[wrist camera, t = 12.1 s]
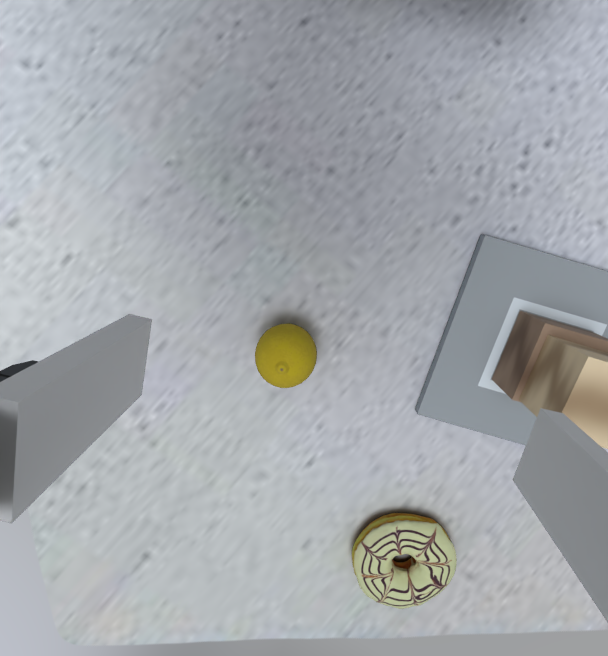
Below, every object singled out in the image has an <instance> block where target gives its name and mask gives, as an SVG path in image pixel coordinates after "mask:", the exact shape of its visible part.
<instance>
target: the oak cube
mask: <svg viewBox="0 0 608 656" xmlns="http://www.w3.org/2000/svg"><path fill="white" fill-rule="evenodd" d="M519 401H521V402H522V403H523V404H524V405H525V406H526V407H527V408H528V409H529V410H530V411H531V412H532V413H533V414H534V415H535V416H536V417H537V416H538V414H539V411H540V408H542V409H546V410H551V411H555V412H560V413H563V414H565V415H566V416H567V417H568V418H569V419H570V420H571V421H572V422H574V423H575V424H576V425H577V426H578V427H579V428H580V429H581V430H583V431H584V432H585V433H586V434H587V435H588V436H589V437H591V438H592V439H593V440H594V441H595V442H596V443H597V444H598V445H600V446H601V447H603V448H607V449H608V353H607V352H604V351H601V350H597V349H594V348H591V347H587V346H584V345H581V344H577V343H574V342H571V341H568V340H564V339H561V338H558V337H554V336H551V335H547V338H546V340H545V342H544V344H543V347H542V349H541V351H540V353H539V356H538V358H537V360H536V362H535V365H534V367H533V369H532V371H531V373H530V376H529V378H528V380H527V382H526V385H525V387H524V389H523V391H522V394H521V396H520V398H519Z"/></svg>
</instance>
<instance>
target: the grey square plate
mask: <svg viewBox="0 0 608 656" xmlns="http://www.w3.org/2000/svg"><path fill="white" fill-rule="evenodd" d="M520 311H523V312H527V313H530V314H533V315H537V316H540V317H544V318H547V319H550V320H554V321H557V322H561V323H564V324H568V325H571V326H574V327H578V328H581V329H585V330H588V331H591V332H594V333H596V334H598V335H601V336H603V337H605V338H608V271H605V270H601V269H598V268H595V267H591V266H588V265H585V264H581V263H578V262H574V261H571V260H568V259H564V258H561V257H558V256H554V255H551V254H548V253H544V252H541V251H537V250H534V249H531V248H527V247H524V246H521V245H517V244H514V243H510V242H507V241H504V240H500V239H497V238H494V237H490V236H487V235H481V236H480V238H479V241H478V244H477V246H476V249H475V252H474V254H473V257H472V260H471V262H470V265H469V267H468V270H467V273H466V275H465V278H464V281H463V283H462V286H461V289H460V291H459V294H458V297H457V299H456V302H455V305H454V307H453V310H452V313H451V315H450V318H449V320H448V323H447V326H446V328H445V331H444V334H443V336H442V339H441V342H440V344H439V347H438V350H437V352H436V355H435V358H434V360H433V363H432V366H431V368H430V371H429V374H428V376H427V379H426V381H425V384H424V387H423V389H422V392H421V395H420V397H419V400H418V403H417V405H416V408H415V410H416V412H417V414H418V415H422V416H425V417H429V418H432V419H436V420H439V421H443V422H446V423H450V424H453V425H457V426H460V427H463V428H467V429H470V430H474V431H477V432H481V433H484V434H488V435H491V436H495V437H498V438H502V439H505V440H509V441H512V442H515V443H519V444H522V445H526V444H527V442H528V439H529V437H530V434H531V431H532V429H533V426H534V424H535V421H536V419H537V417H536V416H535V415H534V414H533V413H532V412H531V411H530V410H529V409H528V408H527V407H526V406H525V405H524V404H523V403H521V402H518V401H515V400H512V399H511V398H510V397H509V396H508V395H507V394H506V393H505V392H504V391H503V390H502V389H501V388H500V387H499V386H498V385H497V384H496V383H495V382H494V381H493V380H492V377H493V375H494V372H495V370H496V367H497V365H498V363H499V360H500V358H501V355H502V353H503V351H504V348H505V346H506V343H507V341H508V339H509V336H510V334H511V331H512V329H513V326H514V324H515V322H516V319H517V317H518V314H519V312H520Z"/></svg>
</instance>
